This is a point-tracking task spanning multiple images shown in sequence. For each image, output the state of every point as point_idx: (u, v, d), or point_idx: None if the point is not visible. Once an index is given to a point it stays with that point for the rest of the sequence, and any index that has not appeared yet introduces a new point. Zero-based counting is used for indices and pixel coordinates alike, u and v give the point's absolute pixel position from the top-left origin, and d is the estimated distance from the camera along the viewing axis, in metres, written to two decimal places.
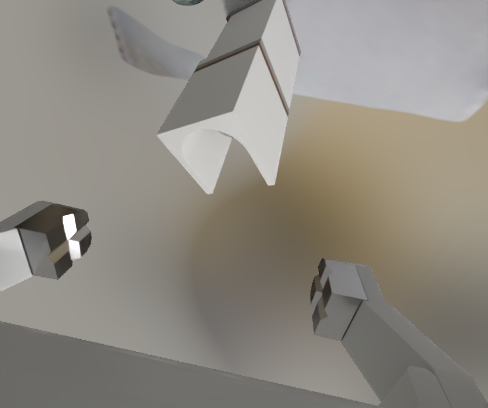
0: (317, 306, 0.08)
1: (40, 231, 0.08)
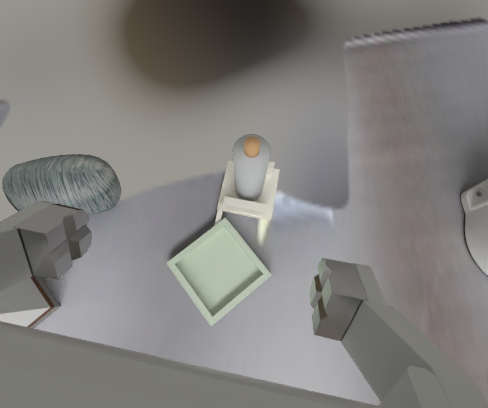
0: (317, 306, 0.08)
1: (40, 230, 0.08)
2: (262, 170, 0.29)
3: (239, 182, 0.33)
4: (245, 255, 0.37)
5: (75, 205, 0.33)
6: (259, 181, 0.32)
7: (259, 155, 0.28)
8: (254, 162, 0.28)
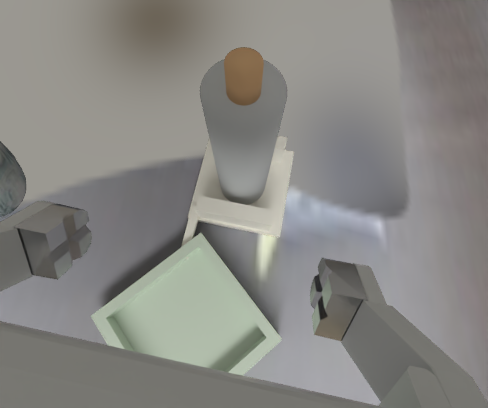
0: (317, 306, 0.08)
1: (40, 231, 0.08)
2: (267, 138, 0.13)
3: (222, 168, 0.17)
4: (235, 299, 0.21)
5: None
6: (260, 166, 0.16)
7: (261, 99, 0.12)
8: (249, 115, 0.12)
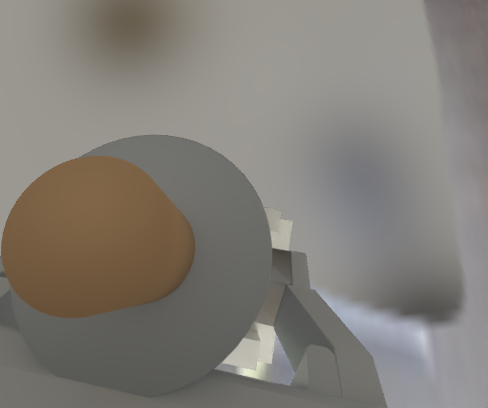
0: None
1: None
2: None
3: None
4: None
5: None
6: None
7: (195, 281, 0.04)
8: (153, 343, 0.04)
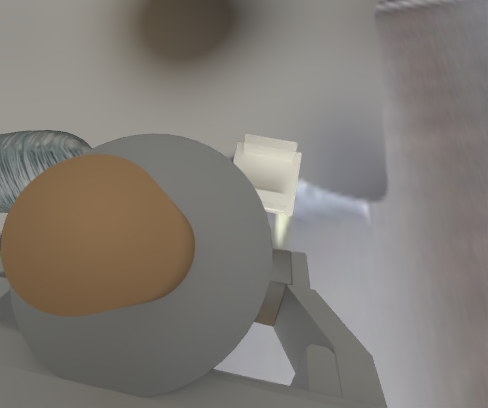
0: None
1: None
2: None
3: None
4: None
5: None
6: None
7: (195, 280, 0.04)
8: (153, 342, 0.04)
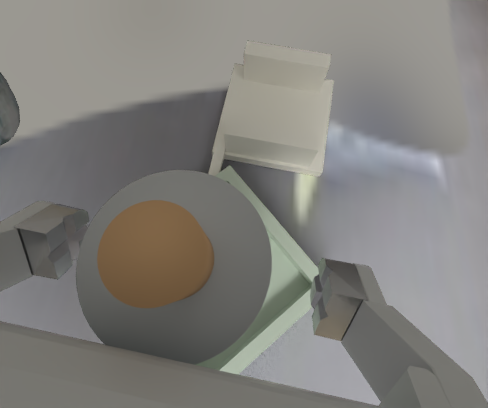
0: (317, 306, 0.08)
1: (40, 230, 0.08)
2: None
3: None
4: (272, 244, 0.18)
5: None
6: None
7: (214, 284, 0.05)
8: (185, 329, 0.05)
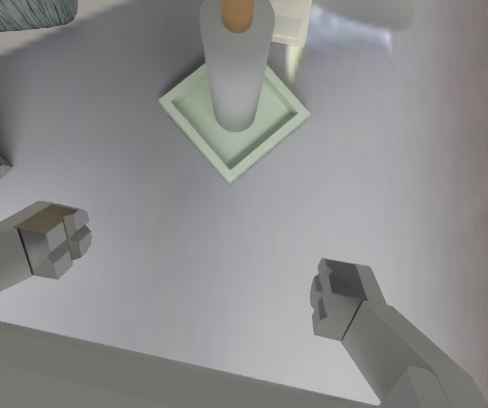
0: (317, 306, 0.08)
1: (40, 231, 0.08)
2: (258, 64, 0.16)
3: (217, 95, 0.19)
4: (270, 93, 0.26)
5: None
6: (252, 91, 0.19)
7: (253, 27, 0.14)
8: (243, 42, 0.14)
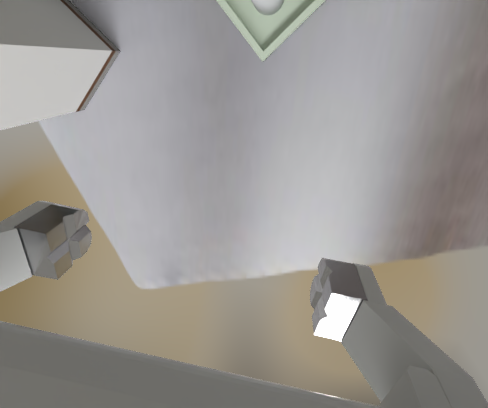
0: (317, 306, 0.08)
1: (40, 231, 0.08)
2: None
3: (252, 0, 0.28)
4: None
5: None
6: None
7: None
8: None
